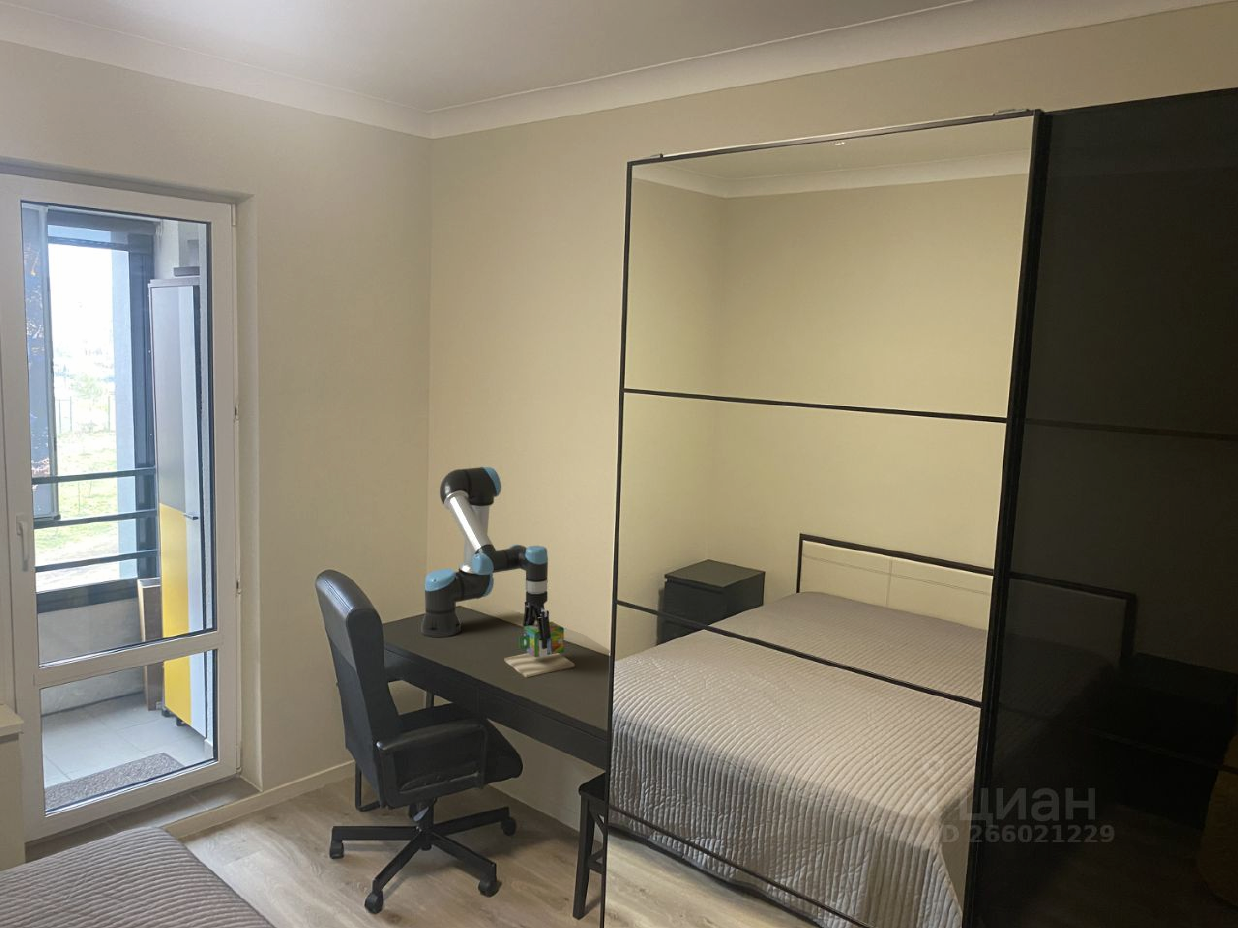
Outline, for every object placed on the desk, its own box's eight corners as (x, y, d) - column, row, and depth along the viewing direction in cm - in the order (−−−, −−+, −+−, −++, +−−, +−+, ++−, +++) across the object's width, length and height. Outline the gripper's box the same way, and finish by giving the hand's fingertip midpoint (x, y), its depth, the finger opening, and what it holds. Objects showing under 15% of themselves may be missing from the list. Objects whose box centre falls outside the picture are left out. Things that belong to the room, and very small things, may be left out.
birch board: (504, 660, 312) (504, 658, 312) (551, 650, 323) (551, 648, 322) (525, 677, 298) (525, 674, 298) (574, 666, 309) (574, 663, 308)
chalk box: (564, 652, 310) (527, 660, 302) (552, 645, 317) (515, 652, 310) (564, 626, 309) (526, 634, 301) (551, 620, 316) (514, 627, 308)
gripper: (561, 597, 298) (561, 660, 302) (531, 581, 317) (531, 640, 320) (541, 600, 294) (541, 664, 298) (513, 584, 313) (513, 644, 316)
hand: (536, 652), depth 309 cm, fingers closed on chalk box, 9 cm apart
